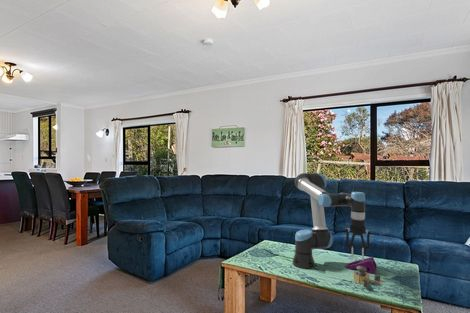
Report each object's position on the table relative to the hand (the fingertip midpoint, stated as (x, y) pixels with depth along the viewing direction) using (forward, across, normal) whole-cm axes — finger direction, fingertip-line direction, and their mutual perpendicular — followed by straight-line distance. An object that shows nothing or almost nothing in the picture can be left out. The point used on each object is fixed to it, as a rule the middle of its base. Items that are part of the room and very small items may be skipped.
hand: (357, 258), depth 162 cm
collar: (+15, +3, +4) cm, 16 cm away
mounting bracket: (+17, +2, +27) cm, 32 cm away
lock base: (+17, +2, +8) cm, 19 cm away
